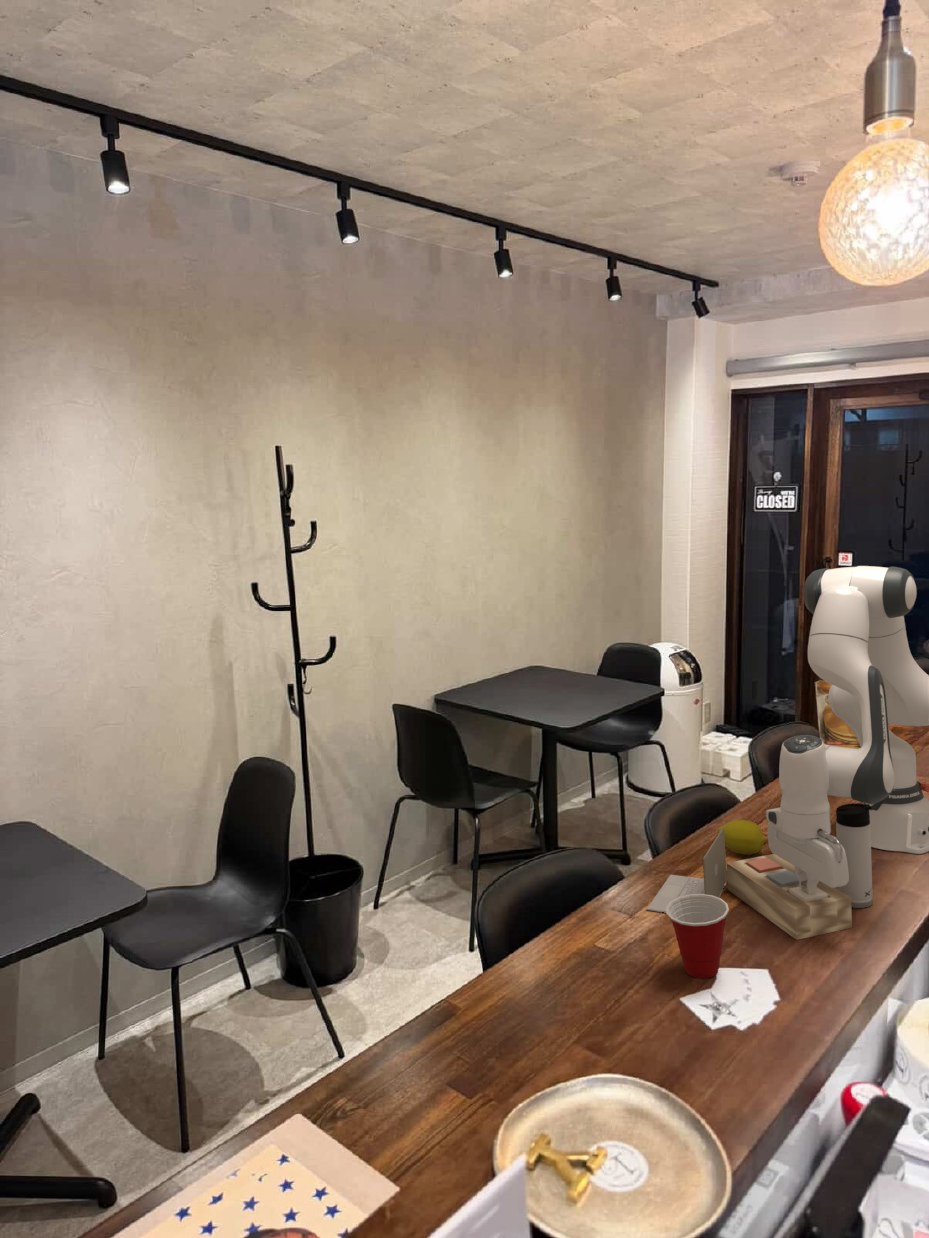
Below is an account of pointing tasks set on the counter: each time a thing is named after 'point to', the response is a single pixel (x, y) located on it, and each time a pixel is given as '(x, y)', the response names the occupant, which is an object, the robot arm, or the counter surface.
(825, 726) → the pancake mix bag
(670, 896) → the laptop
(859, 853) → the travel mug
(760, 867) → the red key
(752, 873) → the key panel
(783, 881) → the slate key
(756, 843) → the lemon
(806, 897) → the white key
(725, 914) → the plastic cup
